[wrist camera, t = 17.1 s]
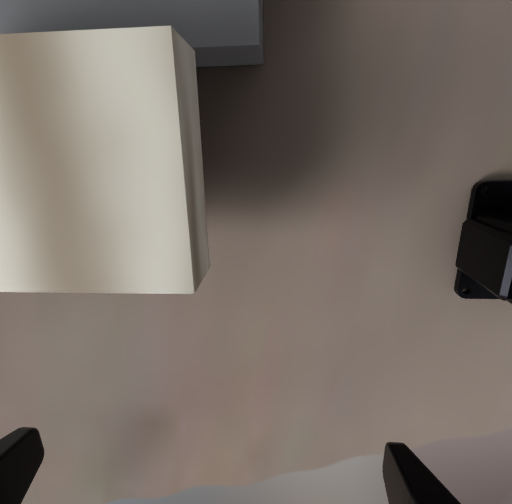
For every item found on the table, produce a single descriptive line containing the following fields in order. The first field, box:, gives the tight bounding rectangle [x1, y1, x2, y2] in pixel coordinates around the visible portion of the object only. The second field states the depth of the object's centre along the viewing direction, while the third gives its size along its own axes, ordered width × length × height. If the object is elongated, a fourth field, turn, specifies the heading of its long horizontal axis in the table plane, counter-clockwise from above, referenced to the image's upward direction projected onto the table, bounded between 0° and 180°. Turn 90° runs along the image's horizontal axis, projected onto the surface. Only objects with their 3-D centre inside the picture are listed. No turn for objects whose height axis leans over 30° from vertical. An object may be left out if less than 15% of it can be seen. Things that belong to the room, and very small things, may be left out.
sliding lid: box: [0, 26, 210, 294], centre depth 13 cm, size 9×9×3 cm
